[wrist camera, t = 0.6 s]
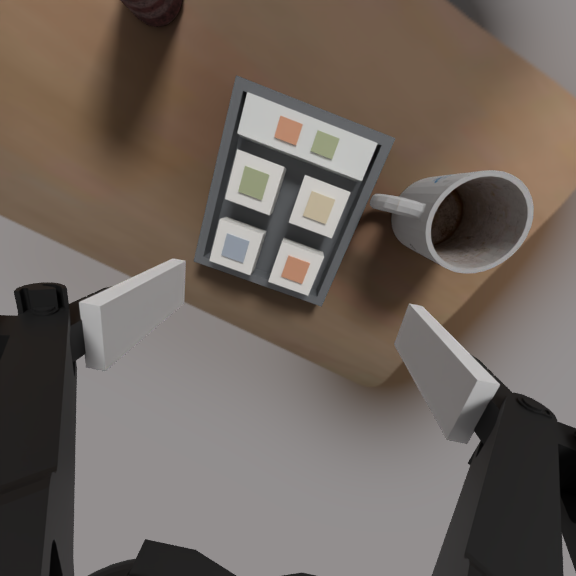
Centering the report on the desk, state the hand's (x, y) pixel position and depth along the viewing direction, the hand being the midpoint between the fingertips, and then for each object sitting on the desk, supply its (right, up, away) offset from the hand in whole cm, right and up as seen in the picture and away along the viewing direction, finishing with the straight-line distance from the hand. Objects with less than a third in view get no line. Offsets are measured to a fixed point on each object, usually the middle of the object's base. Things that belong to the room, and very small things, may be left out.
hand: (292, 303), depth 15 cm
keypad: (0, +11, +17) cm, 20 cm away
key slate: (-6, +6, +17) cm, 19 cm away
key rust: (+1, +4, +17) cm, 18 cm away
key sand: (+3, +10, +15) cm, 18 cm away
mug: (+15, +10, +17) cm, 25 cm away
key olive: (-4, +13, +15) cm, 20 cm away
